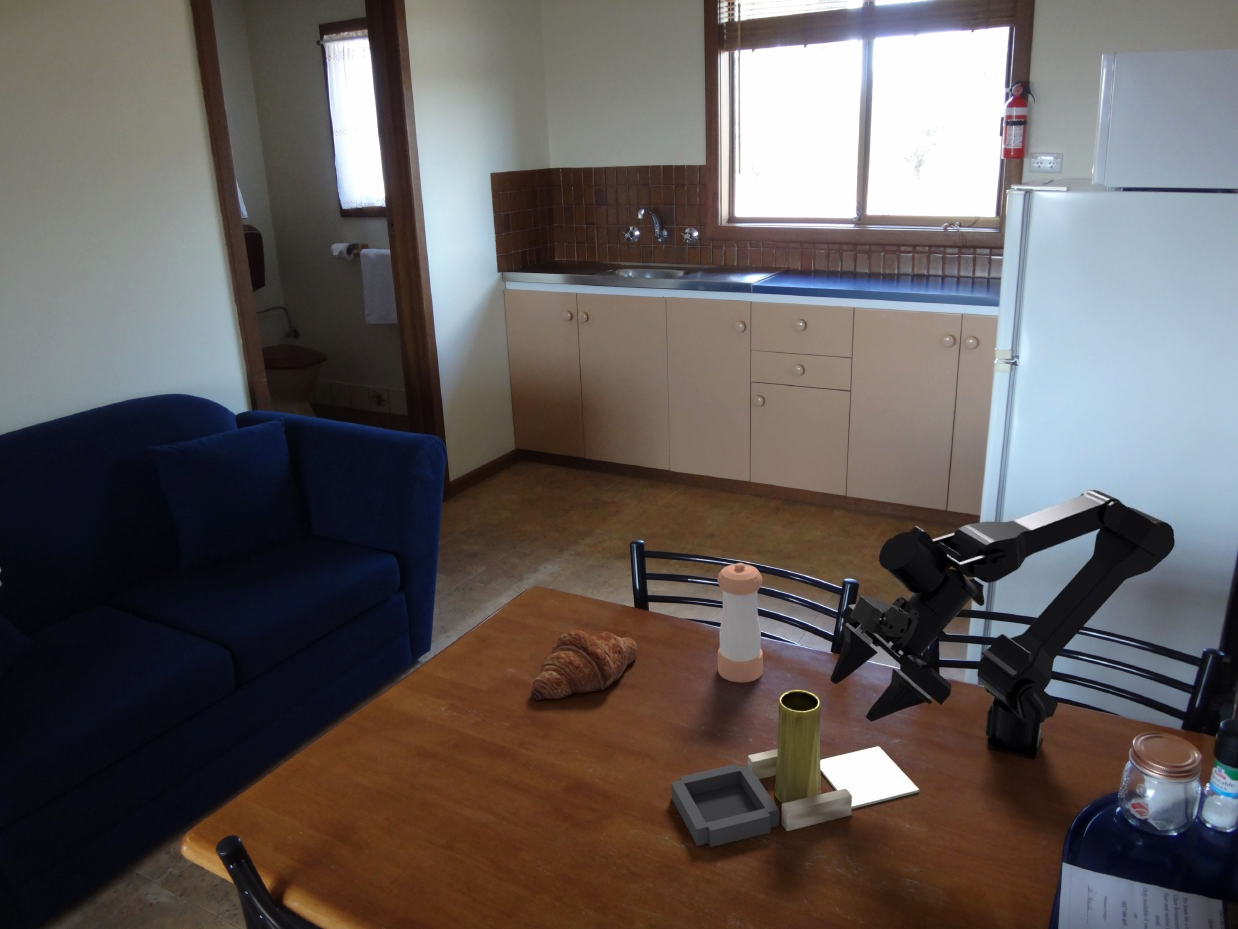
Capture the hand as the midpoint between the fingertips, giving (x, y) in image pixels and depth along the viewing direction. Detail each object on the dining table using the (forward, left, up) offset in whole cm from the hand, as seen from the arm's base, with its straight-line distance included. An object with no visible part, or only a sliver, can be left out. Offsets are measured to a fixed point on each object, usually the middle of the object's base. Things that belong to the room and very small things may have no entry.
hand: (849, 700), depth 123 cm
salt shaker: (+24, -20, -13) cm, 34 cm away
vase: (+5, +5, -13) cm, 15 cm away
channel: (+5, +5, -13) cm, 15 cm away
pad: (-2, -2, -13) cm, 13 cm away
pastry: (+46, -8, -13) cm, 48 cm away
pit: (+12, +13, -13) cm, 22 cm away
